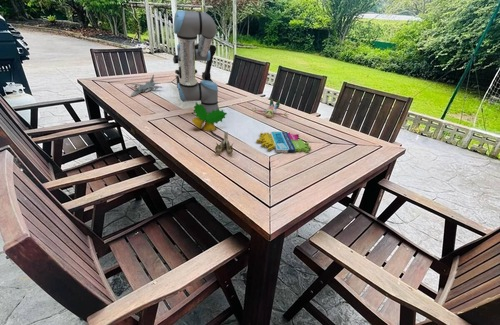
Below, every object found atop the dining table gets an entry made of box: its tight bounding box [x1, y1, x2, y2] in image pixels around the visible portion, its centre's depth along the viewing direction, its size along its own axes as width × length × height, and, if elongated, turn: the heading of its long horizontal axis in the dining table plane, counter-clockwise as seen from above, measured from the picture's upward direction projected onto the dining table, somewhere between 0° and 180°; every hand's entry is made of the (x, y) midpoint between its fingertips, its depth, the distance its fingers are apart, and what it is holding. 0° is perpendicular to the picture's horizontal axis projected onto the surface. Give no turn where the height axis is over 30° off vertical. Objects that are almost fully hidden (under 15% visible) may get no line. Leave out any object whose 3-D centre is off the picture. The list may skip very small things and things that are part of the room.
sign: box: [256, 131, 312, 154], centre depth 152 cm, size 26×2×30 cm
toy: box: [251, 98, 290, 118], centre depth 199 cm, size 28×7×30 cm
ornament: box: [191, 101, 228, 132], centre depth 162 cm, size 21×8×15 cm, turn 105°
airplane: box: [128, 74, 161, 97], centre depth 228 cm, size 38×31×10 cm
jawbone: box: [214, 131, 234, 156], centre depth 136 cm, size 9×15×10 cm
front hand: (185, 96), depth 210 cm, fingers closed on canister, 4 cm apart
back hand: (186, 81), depth 235 cm, fingers open, 9 cm apart
